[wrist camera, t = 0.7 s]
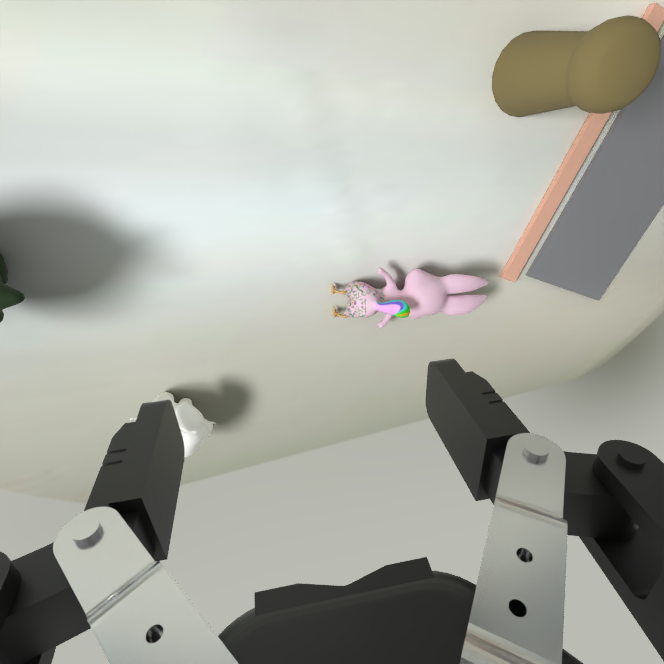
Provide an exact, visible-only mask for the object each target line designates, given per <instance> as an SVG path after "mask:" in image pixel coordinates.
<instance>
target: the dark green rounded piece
mask: <svg viewBox="0 0 664 664" xmlns="http://www.w3.org/2000/svg"><path fill="white" fill-rule="evenodd" d="M7 280H8V276H7V269H6V266H5V263H4V261H3V258H2V256H1V254H0V322H1V321H2V320H3V317H4V313H3V311H2V310H3V309H5V308H7V307H10V306H13V305H16V304H18V303H20V302H22V301H23V300H24V298H25V297H24V294H22V293H21V292H19V291H17V290H15V289H13V288H11V287H9V286H7V285H5V284H6V282H7Z"/></svg>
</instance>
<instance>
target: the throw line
mask: <svg viewBox="0 0 664 664" xmlns="http://www.w3.org/2000/svg"><path fill="white" fill-rule="evenodd" d="M642 19H645V20H646V21H647V22H649V23H650V24H651V25H652V26H653V27H654V28H655V29H656V31H657V32H658V30H659V28H660V26H661V25H662V23H663V21H664V8H662V7H661V6H660V5H658V4H657V3H654V4H650V5H649V7H648V8H647V10H646V12H645V14H644V16H643V17H642ZM610 114H611V112H608V113H604V114H597V113H591V112H590V114H589V116H588V117H587V119H586V121H585V123H584V125H583V126H582V128H581V130H580V132H579V134H578V136H577V137H576V139H575V141H574V143H573V145H572V146H571V148H570V150H569V152H568V154H567V155H566V157H565V159H564V161H563V163H562V165H561V166H560V168H559V170H558V172H557V174H556V175H555V177H554V179H553V181H552V183H551V185H550V186H549V188H548V190H547V192H546V194H545V195H544V197H543V199H542V201H541V203H540V205H539V206H538V208H537V210H536V212H535V214H534V215H533V217H532V219H531V221H530V223H529V225H528V226H527V228H526V230H525V232H524V234H523V235H522V237H521V239H520V241H519V243H518V244H517V246H516V248H515V250H514V252H513V254H512V255H511V257H510V259H509V261H508V263H507V264H506V266H505V268H504V270H503V272H502V274H501V275H500V277H502V278H503V279H506V280H509V281H512V282H515V281H516V279H517V278H518V276H519V274H520V272H521V271H522V269H523V267H524V265H525V264H526V262H527V260H528V258H529V256H530V255H531V253H532V251H533V249H534V248H535V246H536V244H537V242H538V241H539V239H540V237H541V235H542V234H543V232H544V230H545V228H546V227H547V225H548V223H549V221H550V220H551V218H552V216H553V214H554V213H555V211H556V209H557V207H558V206H559V204H560V202H561V200H562V199H563V197H564V195H565V193H566V191H567V190H568V188H569V186H570V184H571V183H572V181H573V179H574V177H575V176H576V174H577V172H578V170H579V169H580V167H581V165H582V163H583V162H584V160H585V158H586V156H587V155H588V153H589V151H590V149H591V148H592V146H593V144H594V142H595V141H596V139H597V137H598V135H599V134H600V132H601V130H602V128H603V126H604V125H605V123H606V121H607V119H608V118H609V116H610Z"/></svg>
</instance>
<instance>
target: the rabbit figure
mask: <svg viewBox="0 0 664 664" xmlns="http://www.w3.org/2000/svg"><path fill="white" fill-rule="evenodd" d="M377 272H378V273H379V274H380V275H382V276H383V277H384V278H385V280H386V282H387V285H386V286H385V287H383V288H381V289H376V288H374V287H372V286H370V285H368V284H366V283H364V282H360V281H353V282H350V283H349V284H348V285H347V287H346V288H345V289H344V290H343V291H337V290H336V289H335V287H334V286H333V284H331V285H332V286H331V293H332V294H334V293H341V294H344V295H346V296H348V297H349V298H351V300H350V301H349V302H348V304H347V307H346V311H345V312H344V313H343V314H338V313H337V312H336V309H335V307H334V306H333V308H334V309H333V316H334V317H333V318H335V317H336V316H340V317H343V318H347V317H361V318H366V317H370V316H372V315H374V314H375V313H376V312H377V311H378V310H379V311H381V312H384V313H386V315H385V317H384V319H383V320H382V321H380V322H379V323H378V327H379V328H382V327H383V326H384V325H385V324H386V323H387V322H388V321H389V320H390V318H391V317H392V315H394V316H397V317H407V316H408V315H410V316H411V317H412V318H414V319H418V318H421V317H423V316H427V315H433V314H437V313H439V312H443V313H445V314H447V315H461V314H465V313H469V312H471V311H473V310H475V309H476V308H477V307H479V306H480V305H481V304H482V303H483V302H484V301H485V299H486V298H487V295H452V296H449V295H447V294H456V293H462V292H469V291H473V290H476V289H478V288H481V287H483V286H485V285H488V283H489V282H488V281H487V280H486V279H483V278H480V277H476V276H471V275H463V274H450V275H447V276H443V277H438V276H434V275H432V274H430V273H427V272H425V271H423V270H420V269H414V270H412V271H411V272H410V273H409V274H408V275H407V277H406V279H405V286H404V287H403V288H402V290H398V288H397V286H396V284H395V282H394V280H393V279H392V277H391V276H390V275H389V274H388V273H387V272H386V271H385V270H384V269H382V268H378V270H377Z"/></svg>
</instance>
